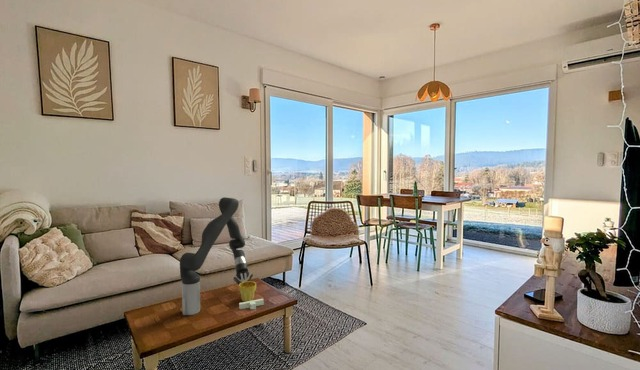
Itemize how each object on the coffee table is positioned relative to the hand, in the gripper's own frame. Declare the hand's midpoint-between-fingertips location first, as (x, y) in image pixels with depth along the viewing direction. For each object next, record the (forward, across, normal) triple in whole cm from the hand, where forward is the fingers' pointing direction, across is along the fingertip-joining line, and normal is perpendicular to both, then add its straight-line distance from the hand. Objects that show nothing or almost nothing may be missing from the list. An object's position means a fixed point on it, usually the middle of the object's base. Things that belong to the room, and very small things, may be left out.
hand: (245, 290), depth 193 cm
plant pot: (+7, 0, 0) cm, 7 cm away
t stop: (+14, 0, -9) cm, 17 cm away
